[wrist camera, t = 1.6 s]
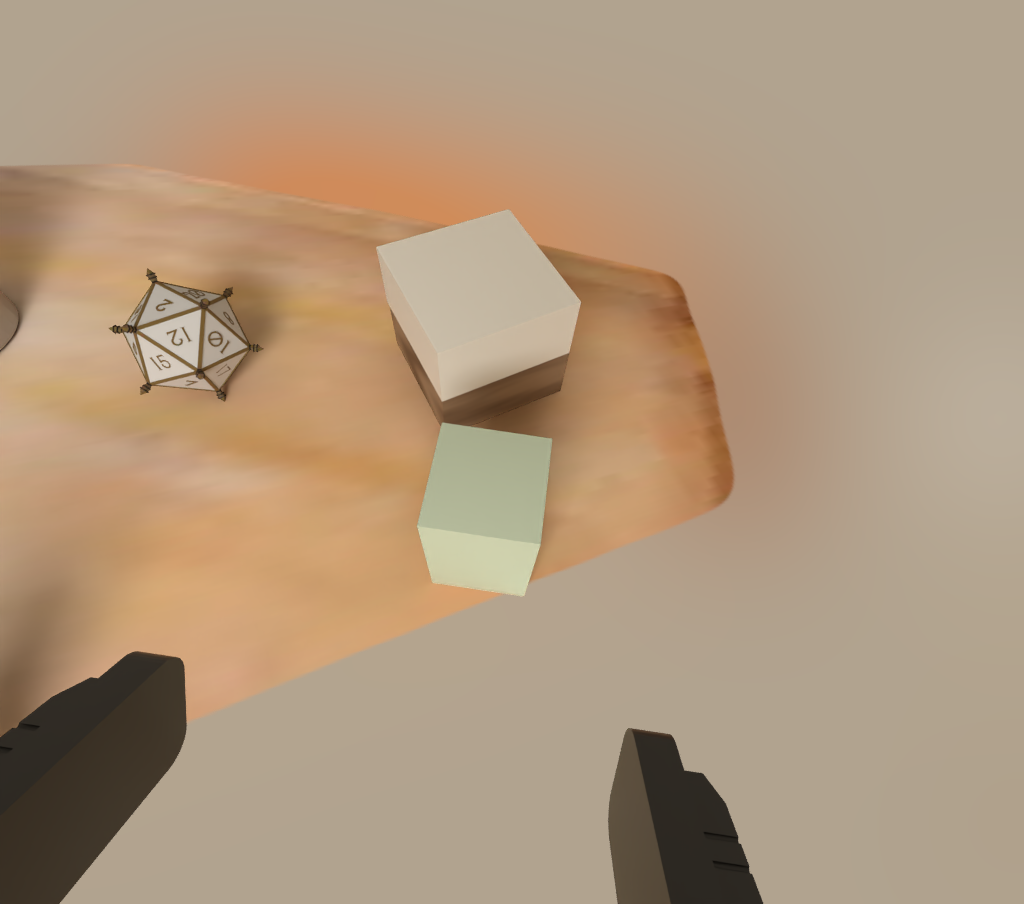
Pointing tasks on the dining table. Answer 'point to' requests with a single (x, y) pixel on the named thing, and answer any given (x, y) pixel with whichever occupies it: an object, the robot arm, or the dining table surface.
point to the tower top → (478, 301)
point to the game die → (185, 338)
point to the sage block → (484, 508)
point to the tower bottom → (485, 388)
